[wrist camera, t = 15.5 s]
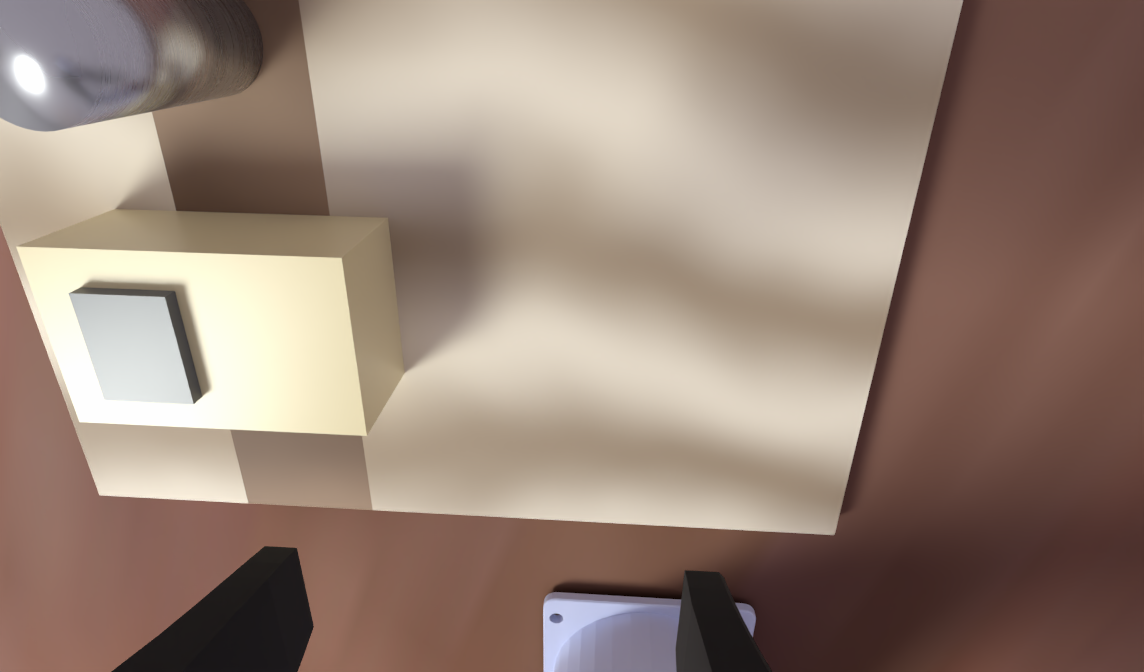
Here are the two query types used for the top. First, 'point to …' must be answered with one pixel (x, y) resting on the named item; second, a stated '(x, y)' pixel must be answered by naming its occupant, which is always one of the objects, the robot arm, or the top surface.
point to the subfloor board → (552, 246)
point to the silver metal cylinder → (120, 57)
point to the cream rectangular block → (222, 319)
